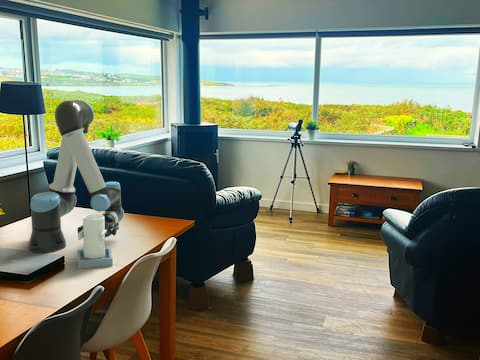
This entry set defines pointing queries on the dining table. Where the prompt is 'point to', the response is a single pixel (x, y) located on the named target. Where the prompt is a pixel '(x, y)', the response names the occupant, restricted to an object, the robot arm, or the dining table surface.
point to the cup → (93, 236)
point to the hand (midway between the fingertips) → (90, 237)
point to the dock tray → (95, 260)
